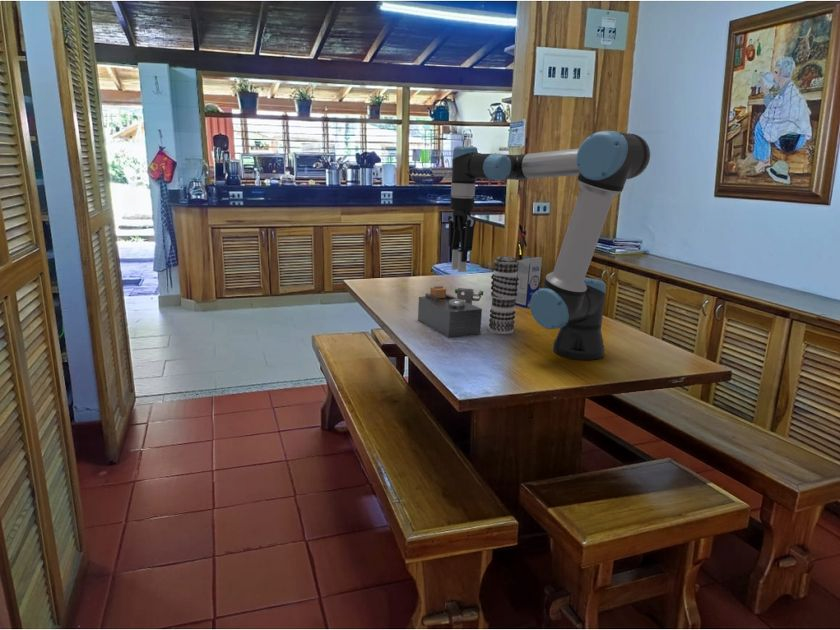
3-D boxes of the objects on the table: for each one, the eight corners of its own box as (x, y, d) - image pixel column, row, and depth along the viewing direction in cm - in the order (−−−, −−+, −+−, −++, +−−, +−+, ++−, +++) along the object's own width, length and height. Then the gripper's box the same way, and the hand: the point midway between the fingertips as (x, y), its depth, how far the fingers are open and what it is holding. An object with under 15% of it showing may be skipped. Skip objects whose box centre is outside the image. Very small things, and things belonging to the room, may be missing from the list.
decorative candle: (484, 332, 195) (489, 258, 189) (491, 325, 203) (496, 254, 197) (511, 335, 192) (517, 260, 185) (517, 328, 200) (523, 256, 194)
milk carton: (526, 308, 229) (531, 258, 224) (513, 304, 234) (517, 255, 229) (537, 306, 233) (542, 256, 228) (524, 302, 238) (528, 254, 233)
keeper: (445, 297, 203) (446, 287, 202) (435, 298, 201) (436, 288, 201) (440, 295, 207) (440, 285, 206) (430, 295, 205) (430, 285, 204)
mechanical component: (481, 318, 212) (482, 291, 209) (453, 315, 214) (454, 289, 211) (482, 316, 215) (483, 289, 212) (454, 313, 217) (455, 287, 214)
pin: (466, 331, 194) (467, 302, 192) (452, 332, 192) (454, 303, 189) (458, 327, 199) (459, 298, 196) (444, 328, 196) (446, 299, 194)
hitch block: (480, 333, 193) (482, 306, 190) (448, 337, 187) (450, 309, 185) (447, 317, 212) (448, 291, 209) (417, 320, 206) (418, 294, 204)
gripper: (487, 199, 179) (482, 274, 185) (459, 195, 193) (455, 265, 199) (466, 199, 175) (461, 275, 181) (439, 195, 189) (436, 266, 195)
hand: (458, 270), depth 190 cm, fingers open, 3 cm apart
